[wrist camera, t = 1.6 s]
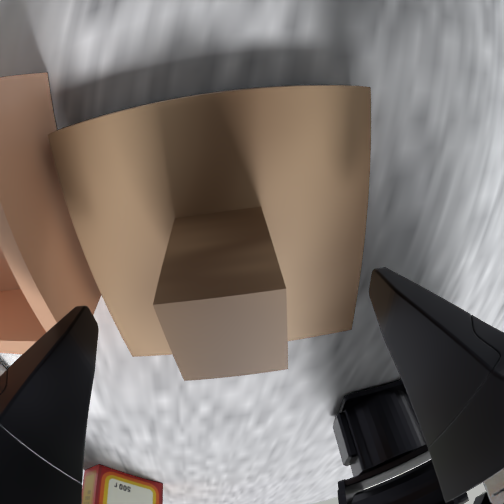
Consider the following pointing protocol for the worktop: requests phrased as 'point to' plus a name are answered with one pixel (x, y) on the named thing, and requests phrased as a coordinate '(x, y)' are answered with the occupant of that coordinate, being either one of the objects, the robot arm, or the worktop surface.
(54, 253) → the dish
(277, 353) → the lid
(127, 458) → the worktop surface
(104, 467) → the baking soda box
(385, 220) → the worktop surface
